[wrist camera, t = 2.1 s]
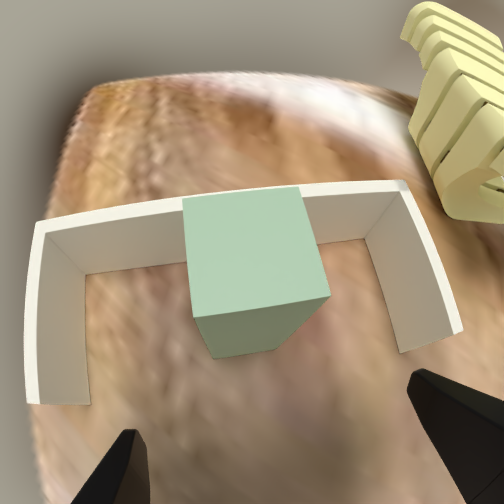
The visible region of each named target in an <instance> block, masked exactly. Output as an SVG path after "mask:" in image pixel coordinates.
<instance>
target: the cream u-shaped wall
mask: <svg viewBox="0 0 504 504" xmlns="http://www.w3.org/2000/svg"><path fill="white" fill-rule="evenodd" d="M286 187H299V190H300V193H301V196H302V199H303V202H304V205H305V208H306V211H307V214H308V218H309V221H310V224H311V227H312V231H313V234H314V237H315V240H316V244H325V243H332V242H340V241H348V240H355V239H363V238H364V239H365V241H366V244H367V247H368V250H369V253H370V256H371V258H372V261H373V264H374V267H375V270H376V273H377V276H378V279H379V283H380V286H381V289H382V292H383V295H384V299H385V302H386V305H387V309H388V312H389V316H390V319H391V323H392V326H393V330H394V334H395V338H396V341H397V345H398V349H399V353H400V354H401V353H404V352H407V351H410V350H413V349H416V348H419V347H422V346H425V345H427V344H430V343H433V342H436V341H438V340H441V339H444V338H446V337H449V336H452V335H454V334H456V333H459V332H461V331H463V326H462V323H461V319H460V316H459V312H458V309H457V306H456V303H455V300H454V296H453V293H452V290H451V287H450V285H449V282H448V279H447V276H446V273H445V270H444V268H443V265H442V262H441V260H440V257H439V255H438V252H437V250H436V247H435V245H434V242H433V240H432V238H431V235H430V233H429V231H428V228H427V226H426V224H425V221H424V219H423V217H422V215H421V213H420V211H419V208H418V206H417V204H416V202H415V200H414V198H413V196H412V194H411V192H410V190H409V188H408V186H407V184H406V182H405V180H377V181H351V182H331V183H314V184H300V185H287V186H274V187H263V188H252V189H242V190H233V191H224V192H215V193H206V194H198V195H190V196H182V197H175V198H168V199H161V200H154V201H147V202H141V203H134V204H128V205H122V206H116V207H110V208H104V209H99V210H93V211H88V212H83V213H77V214H72V215H67V216H62V217H57V218H53V219H48V220H43V221H39V222H36V225H35V230H34V236H33V242H32V248H31V254H30V262H29V269H28V278H27V288H26V300H25V318H24V319H25V320H24V369H25V385H26V397H27V403H33V404H49V405H91V401H90V392H89V383H88V372H87V358H86V339H85V278H86V275H87V274H95V273H103V272H110V271H118V270H126V269H133V268H141V267H149V266H157V265H164V264H172V263H180V262H187V255H186V244H185V232H184V219H183V205H182V199H183V198H190V197H198V196H206V195H215V194H224V193H233V192H242V191H252V190H263V189H274V188H286Z"/></svg>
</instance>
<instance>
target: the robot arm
mask: <svg viewBox="0 0 504 504" xmlns="http://www.w3.org/2000/svg"><path fill="white" fill-rule="evenodd" d="M407 394H408V396H409V398H410V400H411V403H412V405H413V407H414V409H415V411H416V413H417V416H418V418H419V420H420V422H421V424H422V426H423V428H424V430H425V431H426V433H427V435H428V437H429V438H430V440H431V442H432V443H433V445H434V447H435V448H436V450H437V452H438V454H439V455H440V457H441V459H442V460H443V462H444V464H445V466H446V467H447V469H448V471H449V473H450V475H451V476H452V478H453V480H454V482H455V484H456V485H457V487H458V489H459V491H460V493H461V495H462V496H463V498H464V500H465V502H466V504H504V401H502V400H500V399H498V398H495V397H493V396H490V395H487V394H485V393H482V392H480V391H477V390H475V389H472V388H470V387H467V386H465V385H462V384H460V383H457V382H455V381H453V380H450V379H448V378H445V377H443V376H440V375H438V374H436V373H433V372H431V371H428V370H426V369H423V368H422V369H419V370H416V371H414V372H413V373H412V374H411V377H410V380H409V383H408V386H407ZM71 504H150V482H149V472H148V460H147V448H146V445H145V442H144V441H143V439H142V437H141V435H140V434H139V432H138V430H136V429H124V430H123V431H122V432H121V434H120V435H119V436H118V438H117V439H116V441H115V442H114V443H113V445H112V446H111V448H110V449H109V450H108V452H107V453H106V455H105V456H104V457H103V459H102V460H101V462H100V463H99V464H98V466H97V467H96V469H95V470H94V471H93V473H92V474H91V476H90V477H89V478H88V480H87V481H86V483H85V484H84V485H83V487H82V488H81V490H80V491H79V493H78V494H77V495H76V497H75V498H74V500H73V501H72V502H71Z"/></svg>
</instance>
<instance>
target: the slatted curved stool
mask: <svg viewBox="0 0 504 504" xmlns="http://www.w3.org/2000/svg"><path fill="white" fill-rule="evenodd" d="M400 38H401V39H403V40H405V41H407V42H410V44H411V45H412V46H413V47H414V48H415V50H417V51H419V52H420V54H419V56H420V59H421V62H422V67H423V69H424V70H427V73H426V75H425V78H424V79H423V81H422V86H421V91H420V94H419V98H418V101H417V104H416V107H415V110H414V113H413V115H412V117H411V119H410V122H409V126H408V129H409V132H410V134H411V136H412V138H413V140H414V142H415V144H416V146H417V148H418V149H419V151H420V154H421V156H422V158H423V160H424V163H425V165H426V167H427V169H428V171H429V174H430V176H431V178H432V180H433V182H434V185H435V188H436V190H437V193H438V195H439V198H440V200H441V203H442V205H443V208H444V210H445V212H446V213H447V215H448V216H450V217H451V218H453V219H457V220H468V221H478V222H487V223H496V224H504V182H503V180H502V178H501V176H503V177H504V53H503V52H502V50H503V47H502V44H501V42H500V39H499V38H498V37H497V36H495V35H494V34H492V33H491V32H489V31H488V30H486V29H484V28H483V27H481V26H479V25H478V24H476V23H474V22H472V21H471V20H469V19H467V18H465V17H464V16H462V15H460V14H458V13H456V12H454V11H452V10H450V9H448V8H446V7H444V6H442V5H440V4H438V3H435V2H423V3H420V4H418V5H416V6H415V7H414V8H412V10H411V11H410V12H409V14H408V17H407V20H406V22H405V25H404V28H403V30H402V33H401V36H400Z"/></svg>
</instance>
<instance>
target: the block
mask: <svg viewBox="0 0 504 504" xmlns="http://www.w3.org/2000/svg"><path fill="white" fill-rule="evenodd" d="M182 205H183V219H184V232H185V244H186V255H187V265H188V275H189V285H190V294H191V302H192V311H193V318H194V320H195V322H196V324H197V326H198V329H199V331H200V333H201V335H202V337H203V339H204V341H205V343H206V345H207V347H208V349H209V351H210V354H211V356H212V358H213V359H219V358H226V357H233V356H239V355H246V354H252V353H258V352H263V351H269V350H275V349H277V348H278V347H279V346H280V345H281V344H282V343H283V342H284V341H285V340H286V339H287V338H289V337H290V336H291V335H292V334H293V333H294V332H295V331H296V330H297V329H298V328H299V327H300V326H301V325H302V324H303V323H304V322H305V321H306V320H307V319H308V318H309V317H310V316H311V315H312V314H313V313H314V312H315V311H316V310H317V309H318V308H319V307H320V306H321V305H322V304H323V303H324V302H325V301H326V300H327V299H328V298H329V297H330V296H331V293H330V289H329V286H328V282H327V278H326V275H325V271H324V268H323V264H322V261H321V257H320V254H319V251H318V247H317V244H316V240H315V237H314V234H313V231H312V227H311V224H310V221H309V218H308V214H307V211H306V208H305V205H304V202H303V199H302V196H301V193H300V190H299V187H286V188H274V189H263V190H252V191H242V192H233V193H224V194H215V195H206V196H198V197H190V198H183V199H182Z"/></svg>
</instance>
